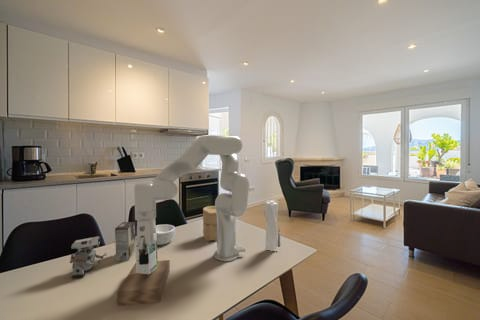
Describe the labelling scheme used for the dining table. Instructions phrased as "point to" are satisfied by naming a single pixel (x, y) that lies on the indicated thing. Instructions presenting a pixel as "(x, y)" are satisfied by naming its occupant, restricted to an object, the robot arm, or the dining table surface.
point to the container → (210, 223)
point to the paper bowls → (164, 234)
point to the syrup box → (152, 257)
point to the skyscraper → (272, 225)
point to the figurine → (84, 255)
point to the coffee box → (125, 241)
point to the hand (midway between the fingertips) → (146, 258)
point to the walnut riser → (144, 285)
